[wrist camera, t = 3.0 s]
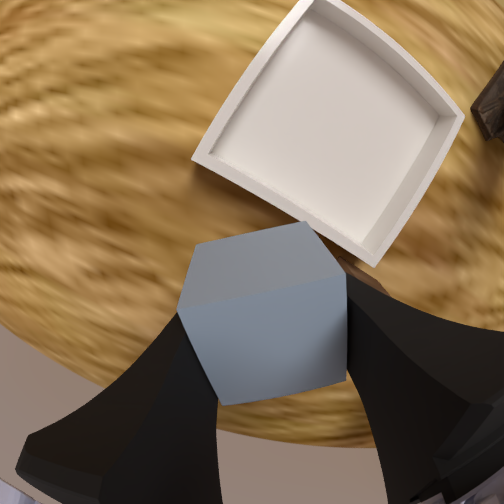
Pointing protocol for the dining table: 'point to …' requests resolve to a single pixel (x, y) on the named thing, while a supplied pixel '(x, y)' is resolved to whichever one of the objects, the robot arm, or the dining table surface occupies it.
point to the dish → (334, 127)
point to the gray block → (266, 313)
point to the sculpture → (491, 107)
